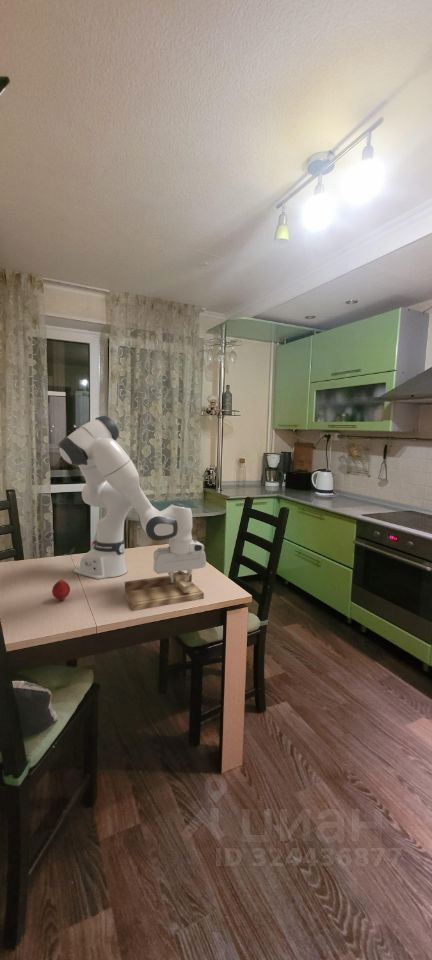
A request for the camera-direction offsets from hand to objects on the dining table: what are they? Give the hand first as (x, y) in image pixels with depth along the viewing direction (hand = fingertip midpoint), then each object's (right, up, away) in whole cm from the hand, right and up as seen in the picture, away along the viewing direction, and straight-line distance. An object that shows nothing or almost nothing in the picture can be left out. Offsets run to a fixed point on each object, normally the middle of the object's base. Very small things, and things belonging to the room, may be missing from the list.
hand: (179, 581), depth 145 cm
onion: (-41, -4, -10) cm, 43 cm away
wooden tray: (-5, -5, -4) cm, 8 cm away
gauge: (+1, -2, -3) cm, 3 cm away
